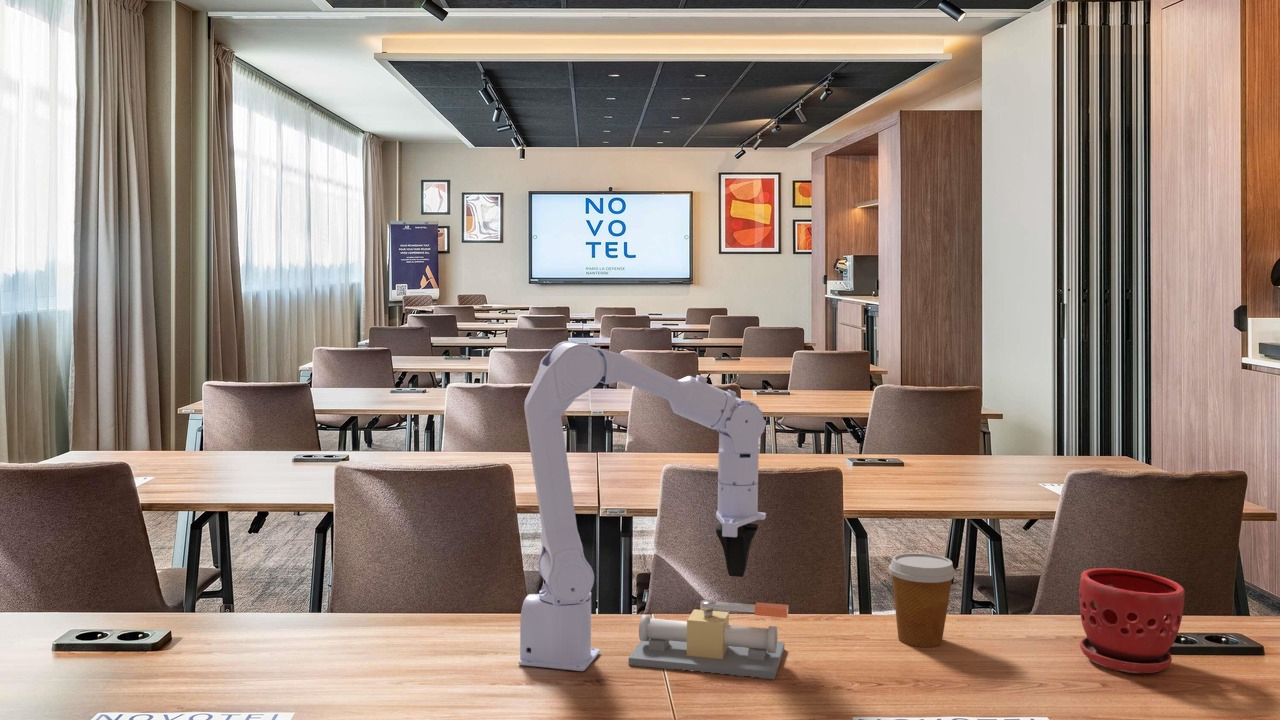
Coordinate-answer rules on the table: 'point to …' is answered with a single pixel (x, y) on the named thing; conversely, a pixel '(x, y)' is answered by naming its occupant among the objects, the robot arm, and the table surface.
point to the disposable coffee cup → (921, 596)
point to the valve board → (708, 664)
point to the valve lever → (747, 608)
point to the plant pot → (1129, 619)
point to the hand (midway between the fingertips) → (736, 575)
